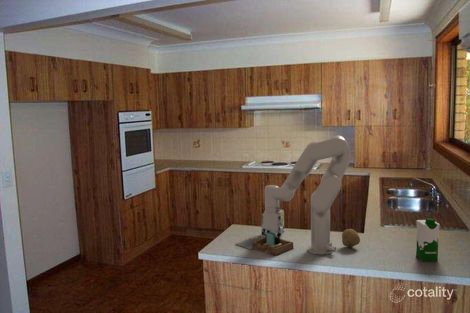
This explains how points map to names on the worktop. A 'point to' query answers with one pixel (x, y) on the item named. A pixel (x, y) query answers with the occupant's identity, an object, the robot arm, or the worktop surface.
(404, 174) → the worktop surface
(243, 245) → the slate pad
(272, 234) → the teal block
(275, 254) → the crate
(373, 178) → the worktop surface
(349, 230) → the natural sponge
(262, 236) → the tea box
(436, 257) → the milk carton
